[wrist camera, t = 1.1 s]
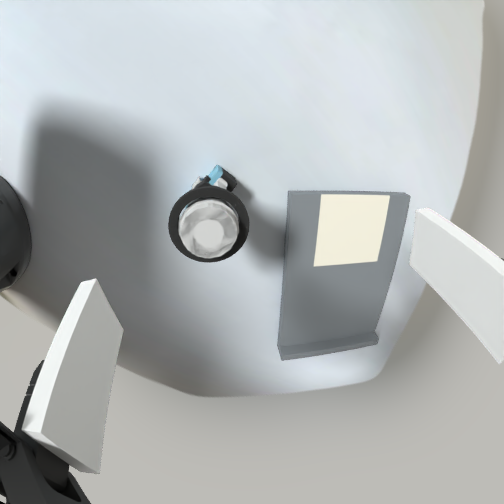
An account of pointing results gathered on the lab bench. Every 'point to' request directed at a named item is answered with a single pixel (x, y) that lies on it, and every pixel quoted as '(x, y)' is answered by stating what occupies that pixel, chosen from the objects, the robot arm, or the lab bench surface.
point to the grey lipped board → (337, 268)
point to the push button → (209, 219)
